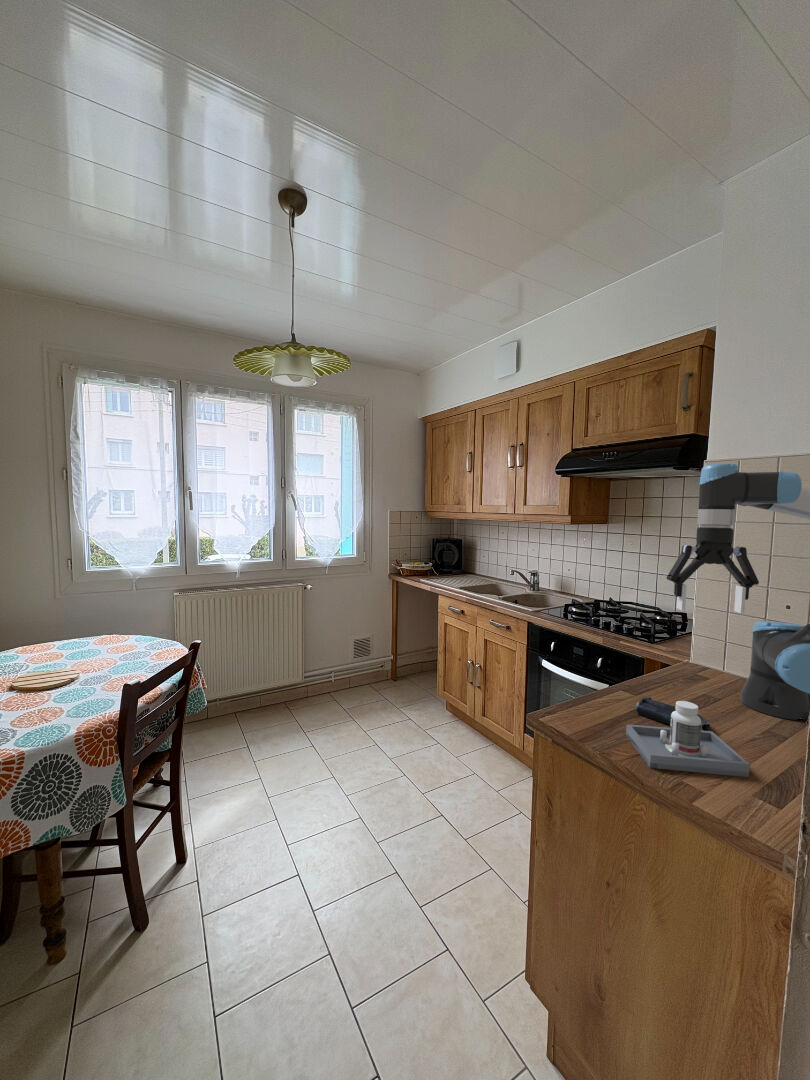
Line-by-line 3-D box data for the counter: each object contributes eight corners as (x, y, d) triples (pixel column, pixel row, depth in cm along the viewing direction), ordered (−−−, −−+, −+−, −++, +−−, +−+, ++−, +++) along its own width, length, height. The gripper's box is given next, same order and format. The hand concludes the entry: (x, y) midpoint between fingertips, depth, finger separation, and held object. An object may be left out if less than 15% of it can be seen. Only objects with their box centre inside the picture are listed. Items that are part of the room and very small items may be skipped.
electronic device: (633, 722, 110) (702, 738, 99) (632, 699, 111) (701, 712, 100) (649, 717, 116) (715, 731, 105) (648, 695, 117) (714, 707, 106)
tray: (711, 742, 98) (712, 727, 97) (748, 777, 85) (750, 759, 84) (626, 735, 100) (626, 720, 100) (649, 767, 87) (650, 750, 87)
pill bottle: (705, 755, 90) (709, 708, 90) (685, 758, 89) (688, 711, 88) (683, 742, 95) (685, 698, 95) (663, 744, 94) (665, 700, 93)
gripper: (759, 527, 111) (754, 610, 113) (655, 525, 115) (650, 605, 116) (781, 528, 104) (774, 616, 105) (668, 525, 107) (663, 611, 109)
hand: (709, 611), depth 111 cm, fingers open, 13 cm apart
